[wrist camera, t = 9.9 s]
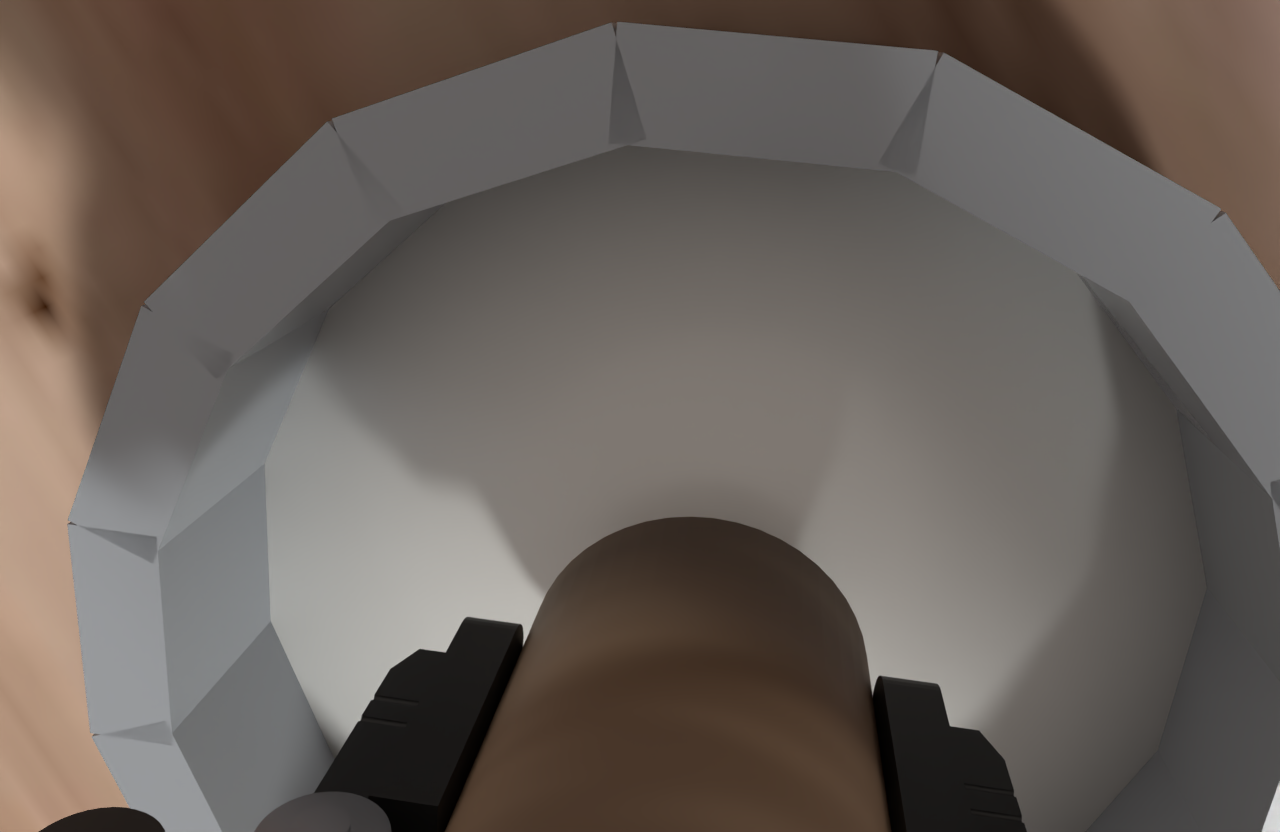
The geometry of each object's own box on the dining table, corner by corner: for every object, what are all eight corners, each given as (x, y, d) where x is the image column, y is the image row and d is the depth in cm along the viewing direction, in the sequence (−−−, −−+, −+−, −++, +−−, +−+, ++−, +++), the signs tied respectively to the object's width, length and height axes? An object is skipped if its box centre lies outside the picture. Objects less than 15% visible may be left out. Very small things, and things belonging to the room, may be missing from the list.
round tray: (1426, 96, 13) (1657, 115, 10) (1116, 1047, 19) (1193, 1278, 15) (191, -17, 15) (5, -35, 11) (241, 897, 20) (128, 1078, 17)
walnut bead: (894, 541, 14) (976, 904, 8) (840, 831, 15) (877, 1310, 9) (539, 495, 14) (372, 808, 8) (523, 783, 15) (374, 1212, 10)
